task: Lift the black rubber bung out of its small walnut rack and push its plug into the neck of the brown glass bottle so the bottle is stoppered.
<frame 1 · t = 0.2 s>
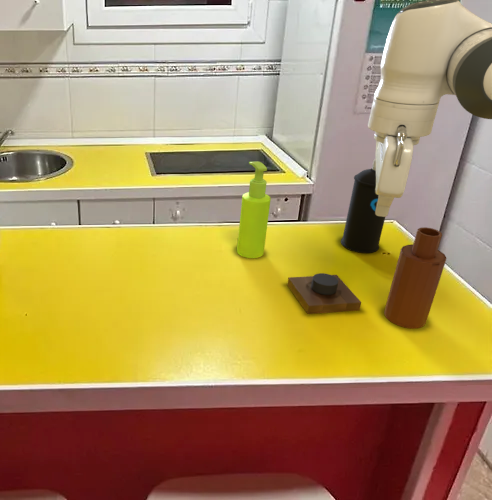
hand: (380, 203, 84), 21 cm above the counter, tool pointing down, fingers open, 8 cm apart
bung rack: (321, 297, 99), on the counter
aerosol can: (359, 245, 118), on the counter
bung: (323, 288, 98), in the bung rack
bottle: (404, 317, 93), on the counter
soap dispenser: (249, 251, 116), on the counter
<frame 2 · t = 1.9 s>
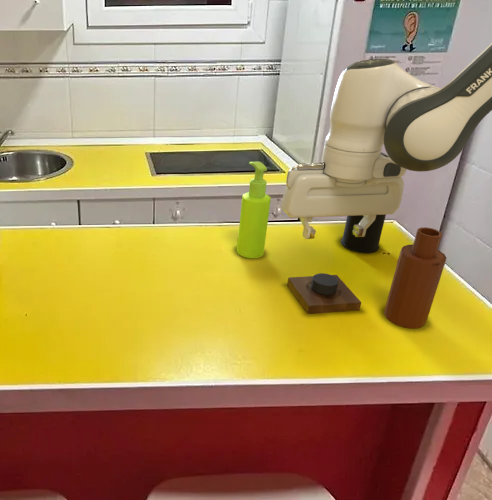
hand: (333, 236, 93), 13 cm above the counter, tool pointing down, fingers open, 8 cm apart
nothing on the counter moved.
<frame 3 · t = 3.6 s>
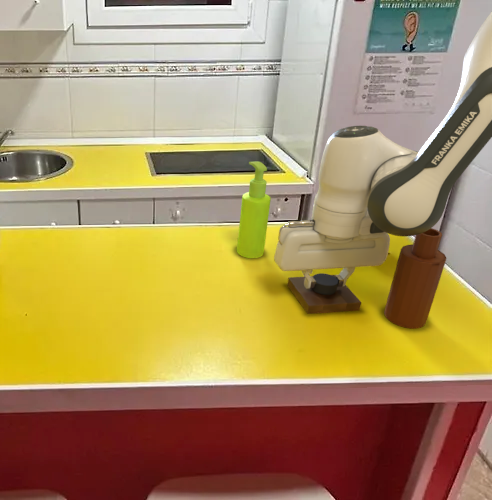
hand: (324, 286, 98), 3 cm above the counter, tool pointing down, fingers closed on bung, 4 cm apart
bung: (323, 288, 98), in the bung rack, touching gripper
everything else where it was.
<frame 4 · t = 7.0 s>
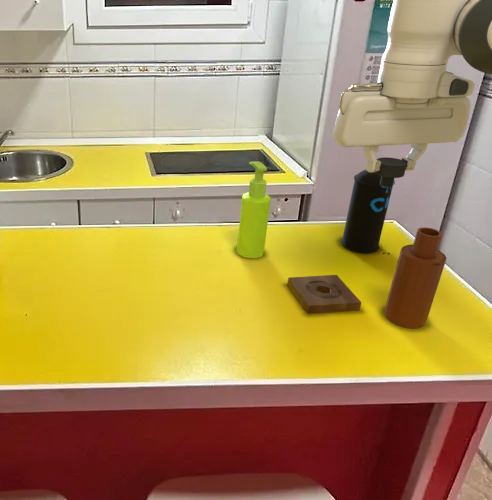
hand: (389, 170, 84), 26 cm above the counter, tool pointing down, fingers closed on bung, 4 cm apart
bung: (388, 173, 84), point 26 cm above the counter, touching gripper
everything else where it was.
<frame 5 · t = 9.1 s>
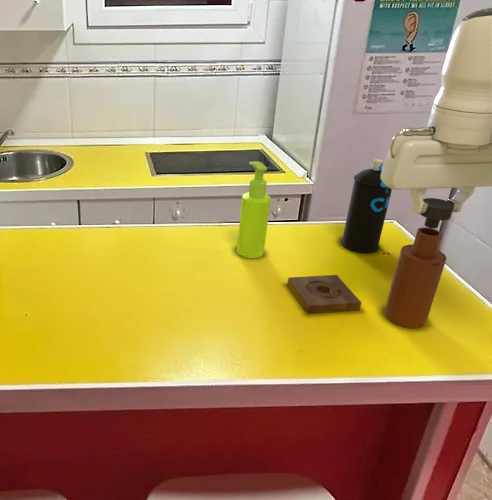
hand: (435, 211, 84), 21 cm above the counter, tool pointing down, fingers closed on bung, 4 cm apart
bung: (434, 214, 84), point 20 cm above the counter, touching gripper
everything else where it was.
when the fingers open (17 cm above the counter, at t = 10.6 s): bung stays where it is, resting on bottle.
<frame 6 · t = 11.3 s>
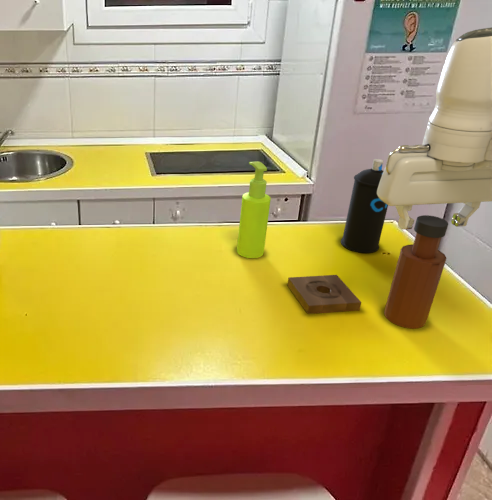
hand: (431, 226, 85), 18 cm above the counter, tool pointing down, fingers open, 8 cm apart
bung: (429, 231, 85), in the bottle, point 17 cm above the counter
everything else where it was.
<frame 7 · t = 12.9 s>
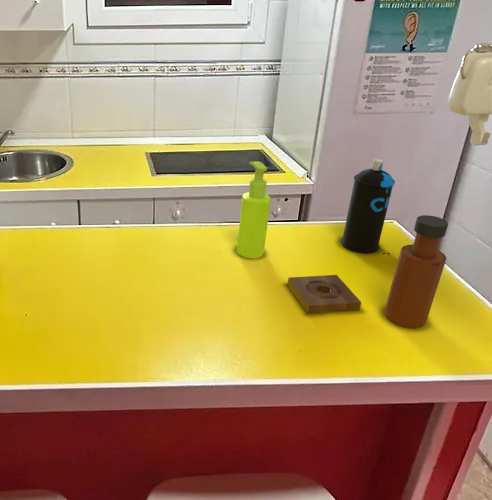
nothing on the counter moved.
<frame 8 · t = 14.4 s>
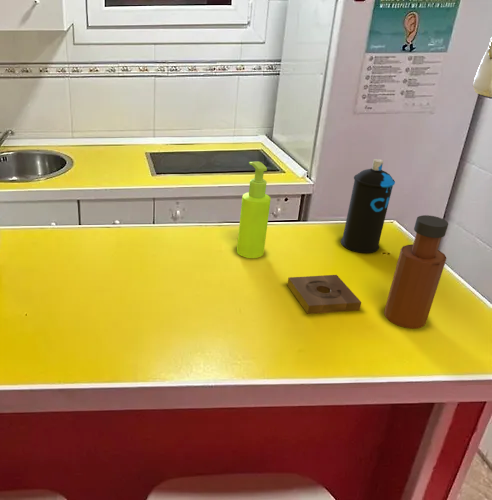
nothing on the counter moved.
at the end: bung 0.1 cm off-centre in the bottle, point 17.0 cm above the bottle's base; bung tilted 0°; the gripper is holding nothing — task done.
